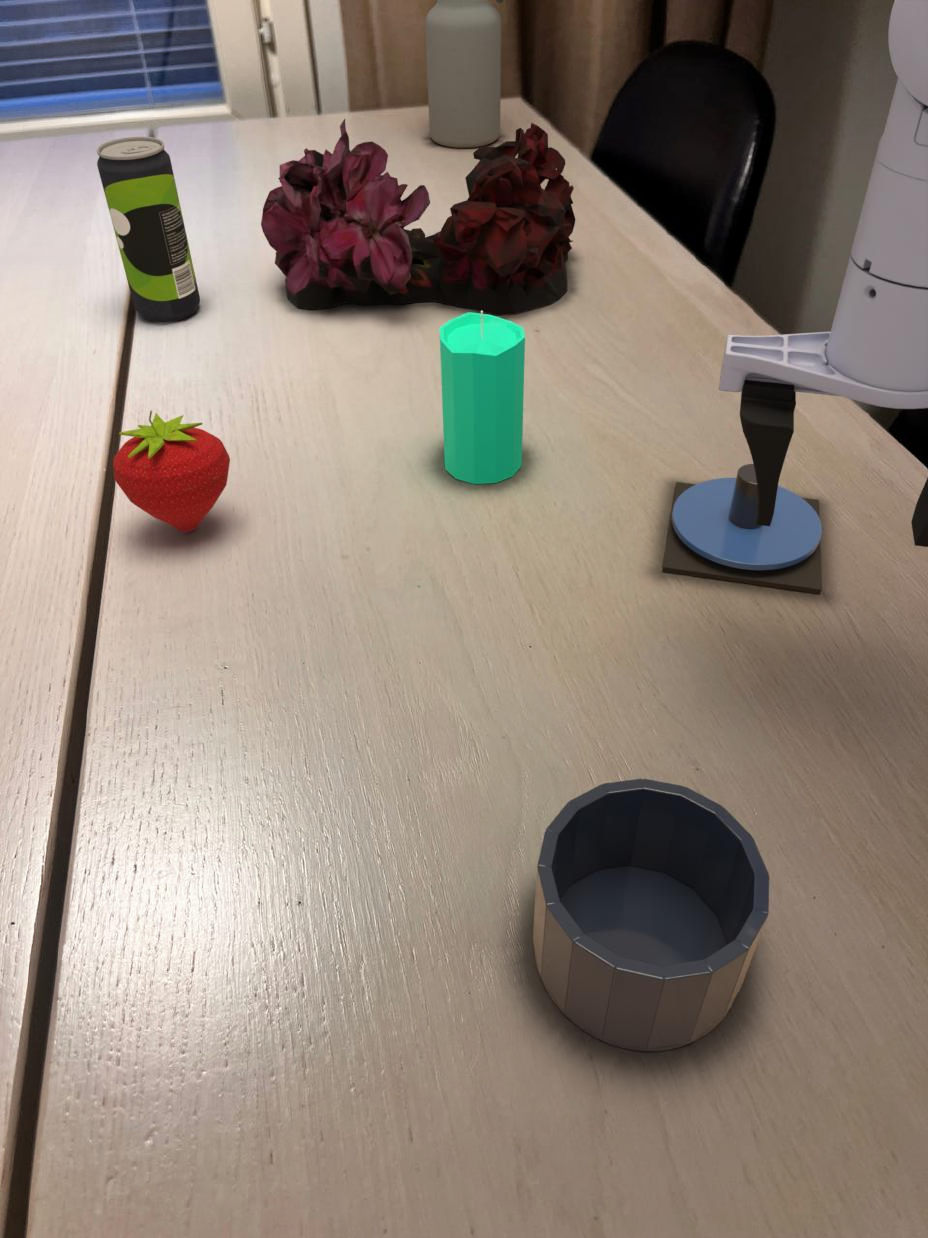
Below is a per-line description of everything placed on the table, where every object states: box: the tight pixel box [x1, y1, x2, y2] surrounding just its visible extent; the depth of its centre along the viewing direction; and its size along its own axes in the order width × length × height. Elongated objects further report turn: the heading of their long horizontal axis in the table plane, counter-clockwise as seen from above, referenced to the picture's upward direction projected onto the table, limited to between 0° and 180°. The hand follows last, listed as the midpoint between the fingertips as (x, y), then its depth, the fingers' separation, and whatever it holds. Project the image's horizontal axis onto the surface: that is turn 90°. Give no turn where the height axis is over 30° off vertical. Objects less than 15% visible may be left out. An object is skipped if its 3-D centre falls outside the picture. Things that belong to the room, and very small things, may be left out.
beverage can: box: [96, 136, 201, 324], centre depth 88 cm, size 6×6×15 cm
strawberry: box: [112, 410, 231, 533], centre depth 63 cm, size 6×8×10 cm
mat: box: [661, 481, 823, 595], centre depth 65 cm, size 10×10×1 cm
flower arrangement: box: [260, 118, 576, 316], centre depth 91 cm, size 31×20×15 cm, turn 99°
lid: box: [671, 463, 823, 570], centre depth 63 cm, size 10×10×5 cm
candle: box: [439, 311, 526, 485], centre depth 68 cm, size 6×6×12 cm
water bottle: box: [425, 0, 504, 149], centre depth 122 cm, size 10×10×28 cm
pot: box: [532, 778, 770, 1052], centre depth 41 cm, size 9×9×6 cm
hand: (840, 524), depth 49 cm, fingers open, 7 cm apart
